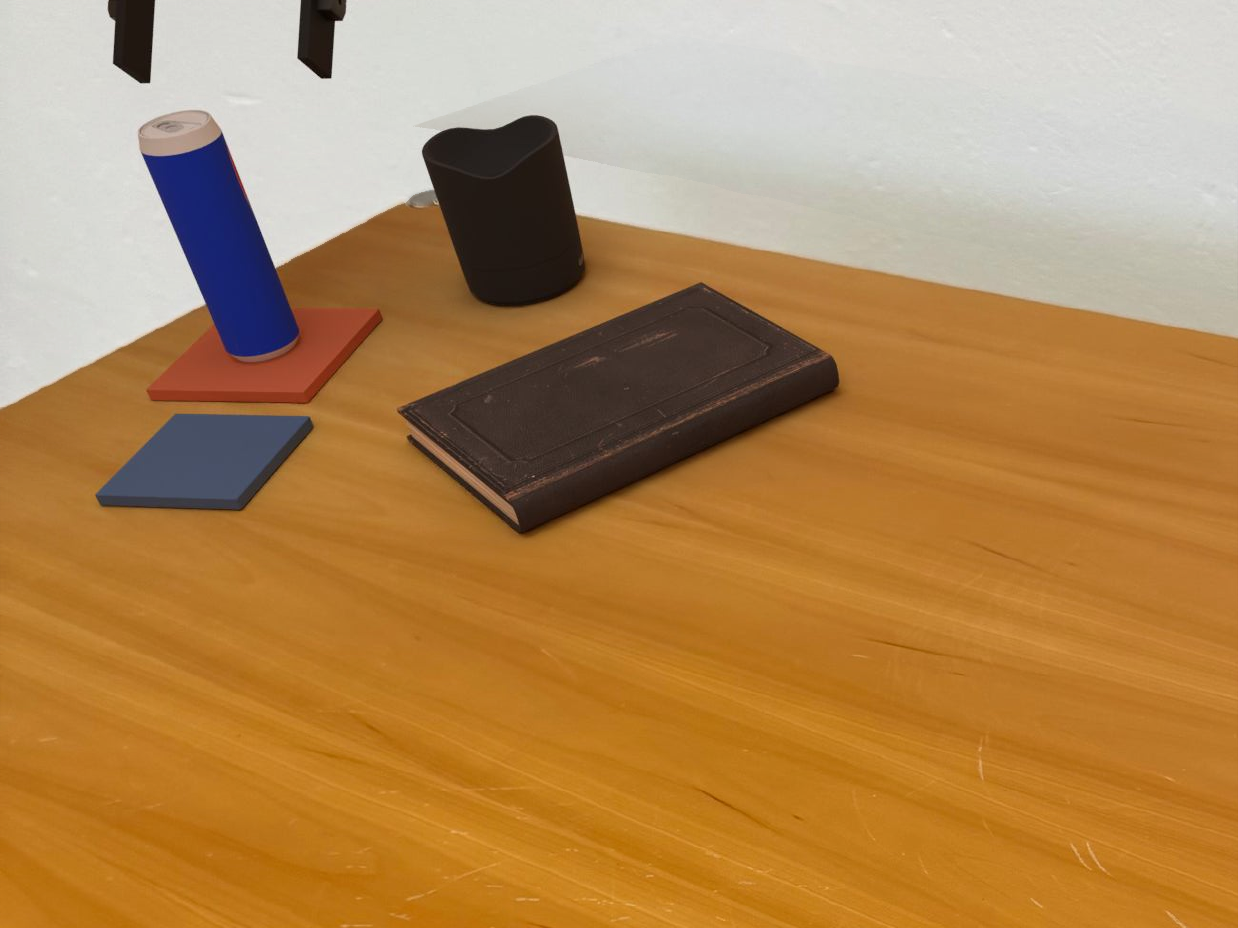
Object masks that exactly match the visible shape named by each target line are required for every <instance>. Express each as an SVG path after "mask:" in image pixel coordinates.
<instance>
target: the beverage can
mask: <svg viewBox="0 0 1238 928" xmlns="http://www.w3.org/2000/svg"><path fill="white" fill-rule="evenodd" d="M137 137H138V146H139V151H140V153H141V156H142V159H143V160H144V164H145V165H146V168H147V171H148V172H149V175H150V177H151V179H152V182H153V185H154V187H155V189H156V192H157V194H158V196H159V198H160V201H161V203H162V205H163V208H164V209H165V212H166V215H167V217H168V219H169V221H170V224H171V226H172V228H173V231H174V233H175V235H176V238H177V240H178V243H179V245H180V247H181V249H182V252H183V253H184V256H185V259H186V261H187V263H188V266H189V268H190V271H191V273H192V276H193V277H194V280H195V282H196V284H197V288H198V289H199V292H200V295H201V296H202V299H203V301H204V303H205V306H206V308H207V311H208V313H209V315H210V317H211V319H212V322H213V325H214V324H215V327H216V329H217V331H218V334H219V336H220V338H221V341H222V343H223V345H224V348H225V350H226V351H227V352H228V353H229V354H230V355H232V356H233V357H235V358H236V359H238V360H240V361H243V362H262V361H267V360H270V359H274V358H276V357H279V356H281V355H283V354H285V353H287V352H288V351H290V350H291V349H292V348H293V347H294V346H295V344H296V342H297V339H298V335H299V328H298V325H297V323H296V320H295V317H294V315H293V312H292V310H291V308H292V307H291V305H290V302H289V300H288V297H287V294H286V292H285V290H284V286H283V284H282V282H281V279H280V276H279V274H278V271H277V269H276V266H275V264H274V261H273V259H272V256H271V253H270V251H269V248H268V245H267V243H266V241H265V238H264V235H263V233H262V231H261V228H260V226H259V223H258V220H257V218H256V215H255V213H254V210H253V208H252V205H251V202H250V200H249V197H248V195H247V192H246V190H245V187H244V184H243V181H242V179H241V176H240V174H239V171H238V169H237V166H236V164H235V161H234V159H233V155H232V153H231V151H230V149H229V146H228V143H227V141H226V140H227V139H226V138H225V135H224V133H223V131H222V128H221V127H220V126H219V124H218V122H217V121H216V120H215V119H214V117H213V116H212V114H211V113H209V112H208V111H206V110H201V109H187V110H180V111H174V112H170V113H165V114H163V115H160V116H157V117H155V118H153V119H150V120H149V121H147V122H145V123H144V124H142V125H141V126H140V127H139V128H138V130H137Z"/></svg>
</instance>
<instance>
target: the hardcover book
mask: <svg viewBox="0 0 1238 928" xmlns="http://www.w3.org/2000/svg"><path fill="white" fill-rule="evenodd" d="M839 385H840V375H839V368H838V365H837V362H836V360H835V358H834V357H833V356H832V354H830V353H829V352H826V351H825V350H823V349H821V348H819V347H818V346H816V345H814V344H813V343H810V342H809V341H807V340H805V339H804V338H802V337H799V336H798V335H796V334H795V333H793V332H791V331H789V330H787V329H786V328H783V327H782V326H780V325H778V324H776V323H775V322H773V321H771V320H770V319H768V318H766V317H765V316H763V315H761V314H759V313H757V312H755V311H754V310H752V309H750V308H748V307H746V306H745V305H743V304H741V303H739V302H737V301H736V300H734V299H733V298H730V297H729V296H727V295H725V294H724V293H721V292H720V291H718V290H716V289H714V288H712V287H711V286H709V285H707V284H705V283H704V282H702V281H700V282H697V283H695V284H693V285H691V286H688V287H686V288H683V289H681V290H678V291H676V292H674V293H671V294H669V295H667V296H664V297H661V298H659V299H657V300H654V301H652V302H650V303H647V304H645V305H642V306H640V307H637V308H635V309H633V310H630V311H628V312H625V313H623V314H620V315H618V316H615V317H613V318H611V319H609V320H606V321H604V322H601V323H599V324H597V325H594V326H591V327H589V328H587V329H585V330H582V331H579V332H577V333H575V334H572V335H570V336H568V337H565V338H563V339H561V340H558V341H556V342H553V343H551V344H548V345H546V346H544V347H541V348H538V349H536V350H534V351H531V352H529V353H527V354H524V355H522V356H519V357H517V358H514V359H512V360H510V361H508V362H505V363H502V364H500V365H498V366H495V367H492V368H490V369H488V370H485V371H483V372H481V373H478V374H476V375H474V376H471V377H469V378H467V379H464V380H461V381H459V382H456V383H454V384H452V385H449V386H447V387H445V388H443V389H440V390H437V391H435V392H433V393H431V394H428V395H425V396H423V397H420V398H418V399H415V400H413V401H410V402H409V403H406V404H403V405H401V406H399V407H397V408H396V411H397V414H399V415H400V416H401V417H402V418H404V419H405V420H406V425H405V426H406V427H407V428H408V429H409V431H410V434H409V435H406V440H407V441H409V442H410V443H411V444H412V445H413V446H414V447H415V448H417V449H418V450H419V451H420V452H421V453H423V454H424V455H425V456H426V457H428V458H429V460H431V461H432V462H433V463H434V464H436V465H437V466H438V467H439V468H441V469H442V470H443V471H444V472H445V473H446V474H448V475H449V476H450V477H452V479H454V480H455V481H456V482H457V483H459V484H460V485H461V486H462V487H463V488H465V490H467V491H468V492H469V493H470V494H471V495H473V496H474V497H475V498H476V499H477V500H479V501H480V502H481V503H483V505H485V506H487V508H488V509H489V510H491V511H492V512H493V513H494V514H496V515H497V516H498V517H499V518H500V519H502V521H504V522H505V523H506V524H507V525H509V526H510V527H511V528H512V529H514V530H515V531H516V532H517V533H518V534H523V533H525V532H528V531H530V530H531V529H533V528H536V527H538V526H540V525H542V524H545V523H547V522H549V521H551V520H553V519H555V518H558V517H560V516H562V515H564V514H567V513H568V512H571V511H573V510H575V509H577V508H579V507H582V506H583V505H585V504H588V503H591V502H593V501H595V500H597V499H599V498H601V497H603V496H605V495H607V494H610V493H611V492H614V491H616V490H618V489H620V488H623V487H625V486H627V485H630V484H631V483H633V482H634V483H635V482H636V481H638V480H640V479H643V478H644V477H646V476H649V475H652V474H653V473H655V472H657V471H660V470H662V469H663V468H667V467H669V466H670V465H673V464H675V463H677V462H679V461H681V460H683V459H686V458H688V457H690V456H692V455H694V454H696V453H698V452H701V451H703V450H705V449H707V448H709V447H712V446H713V445H716V444H718V443H720V442H722V441H724V440H727V439H729V438H732V437H733V436H735V435H737V434H740V433H742V432H744V431H747V430H748V429H751V428H753V427H755V426H757V425H759V424H761V423H763V422H766V421H768V420H770V419H773V418H775V417H776V416H779V415H781V414H783V413H785V412H788V411H789V410H792V409H794V408H796V407H798V406H801V405H802V404H805V403H807V402H810V401H812V400H814V399H816V398H819V397H820V396H822V395H824V394H827V393H828V392H831V391H833V390H836V389H838V388H839Z"/></svg>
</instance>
